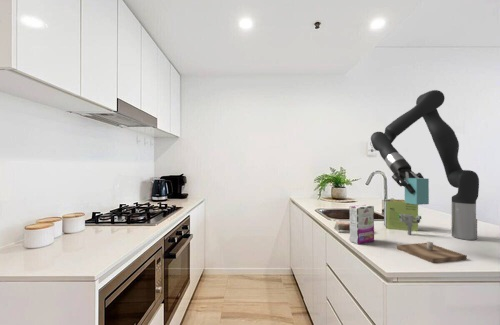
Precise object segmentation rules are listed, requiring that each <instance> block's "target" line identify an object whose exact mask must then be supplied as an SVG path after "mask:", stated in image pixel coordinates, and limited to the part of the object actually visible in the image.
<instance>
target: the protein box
mask: <svg viewBox="0 0 500 325" xmlns="http://www.w3.org/2000/svg"><path fill="white" fill-rule="evenodd" d="M399 214H406V215H413V217H414V218H416V217H417V215H419V205H415V204H410V203H405V199H395V198H394V199H391V198H390V199H388V198H384V199H383V226H384V227H385V229H388V230H399V231H408V226H407V223H403V222H401V221H400V218H398V215H399ZM405 218H406V217H404V219H405ZM413 221H414V222H416V221H417V220H413ZM412 225H413V226H412V227H411V232H418V231H419V223H412Z"/></svg>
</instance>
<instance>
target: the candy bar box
mask: <svg viewBox="0 0 500 325" xmlns="http://www.w3.org/2000/svg"><path fill="white" fill-rule="evenodd" d="M374 209H375V207H374V205H370V204H359V205H352V206H351V205H350V206H349V223H350V233H349V242H350V243H353V244H357V245H363V244H367V243H372V242H375V210H374Z"/></svg>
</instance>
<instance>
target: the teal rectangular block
mask: <svg viewBox="0 0 500 325" xmlns="http://www.w3.org/2000/svg"><path fill="white" fill-rule="evenodd" d="M407 179H408V182H409V183H410V184H411V186H412V187H413V188H414V190H415V192H414V193H413V194H411V193H410V192H409V191H408V190H407V189H406V188H405V187H404V200H405V203H410V204H415V205H418V206H420V205H421V206H422V205H429V204H430V203H429V202H430V200H429V195H430V194H429V193H430V191H429V190H430V188H429V182H430V181H429V180H430V178H425V177H424V178H407Z"/></svg>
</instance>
